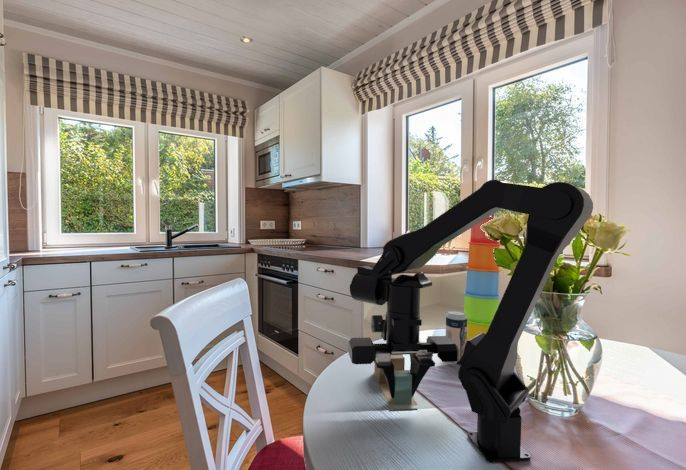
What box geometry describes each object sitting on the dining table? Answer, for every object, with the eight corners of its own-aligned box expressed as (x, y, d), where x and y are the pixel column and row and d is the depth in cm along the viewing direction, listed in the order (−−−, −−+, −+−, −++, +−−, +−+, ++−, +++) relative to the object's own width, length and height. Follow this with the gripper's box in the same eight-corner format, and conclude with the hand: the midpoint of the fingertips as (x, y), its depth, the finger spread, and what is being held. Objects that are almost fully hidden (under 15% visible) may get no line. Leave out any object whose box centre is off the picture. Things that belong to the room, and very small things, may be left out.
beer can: (467, 368, 82) (468, 316, 81) (445, 366, 83) (446, 314, 82) (464, 360, 86) (465, 310, 86) (443, 358, 87) (445, 309, 87)
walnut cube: (404, 382, 72) (404, 358, 71) (379, 383, 71) (379, 358, 71) (397, 372, 77) (398, 349, 76) (374, 373, 76) (374, 349, 76)
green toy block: (417, 410, 63) (418, 376, 63) (389, 411, 63) (390, 377, 62) (396, 375, 77) (397, 348, 77) (373, 376, 77) (374, 348, 76)
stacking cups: (452, 341, 100) (456, 216, 99) (488, 340, 101) (491, 217, 100) (469, 355, 90) (473, 216, 89) (508, 354, 91) (512, 216, 90)
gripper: (437, 299, 73) (435, 375, 73) (345, 300, 71) (344, 378, 71) (461, 313, 62) (459, 403, 62) (353, 315, 60) (351, 407, 60)
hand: (401, 396), depth 64 cm, fingers closed on green toy block, 3 cm apart
